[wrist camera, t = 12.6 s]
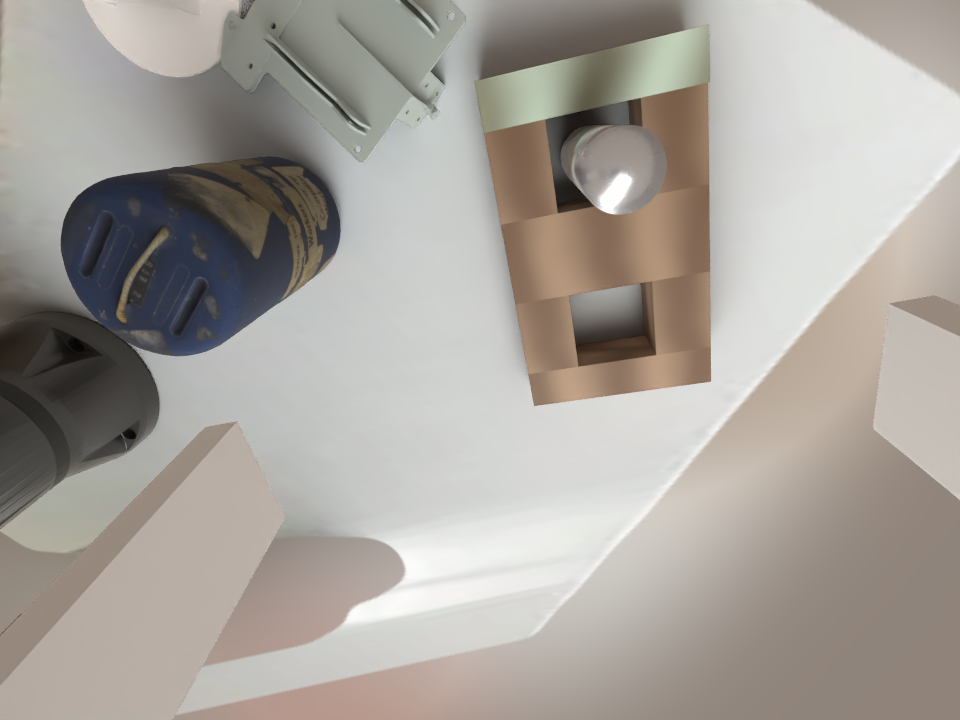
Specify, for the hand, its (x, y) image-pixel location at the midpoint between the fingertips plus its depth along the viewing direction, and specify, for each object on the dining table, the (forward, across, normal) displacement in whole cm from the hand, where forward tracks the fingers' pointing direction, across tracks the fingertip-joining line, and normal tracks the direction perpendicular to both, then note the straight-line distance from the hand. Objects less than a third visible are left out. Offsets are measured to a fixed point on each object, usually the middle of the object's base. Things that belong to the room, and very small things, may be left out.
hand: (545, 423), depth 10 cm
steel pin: (+31, +6, +2) cm, 31 cm away
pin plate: (+30, +6, -4) cm, 31 cm away
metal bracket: (+31, -8, +13) cm, 35 cm away
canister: (+31, -18, +3) cm, 36 cm away
